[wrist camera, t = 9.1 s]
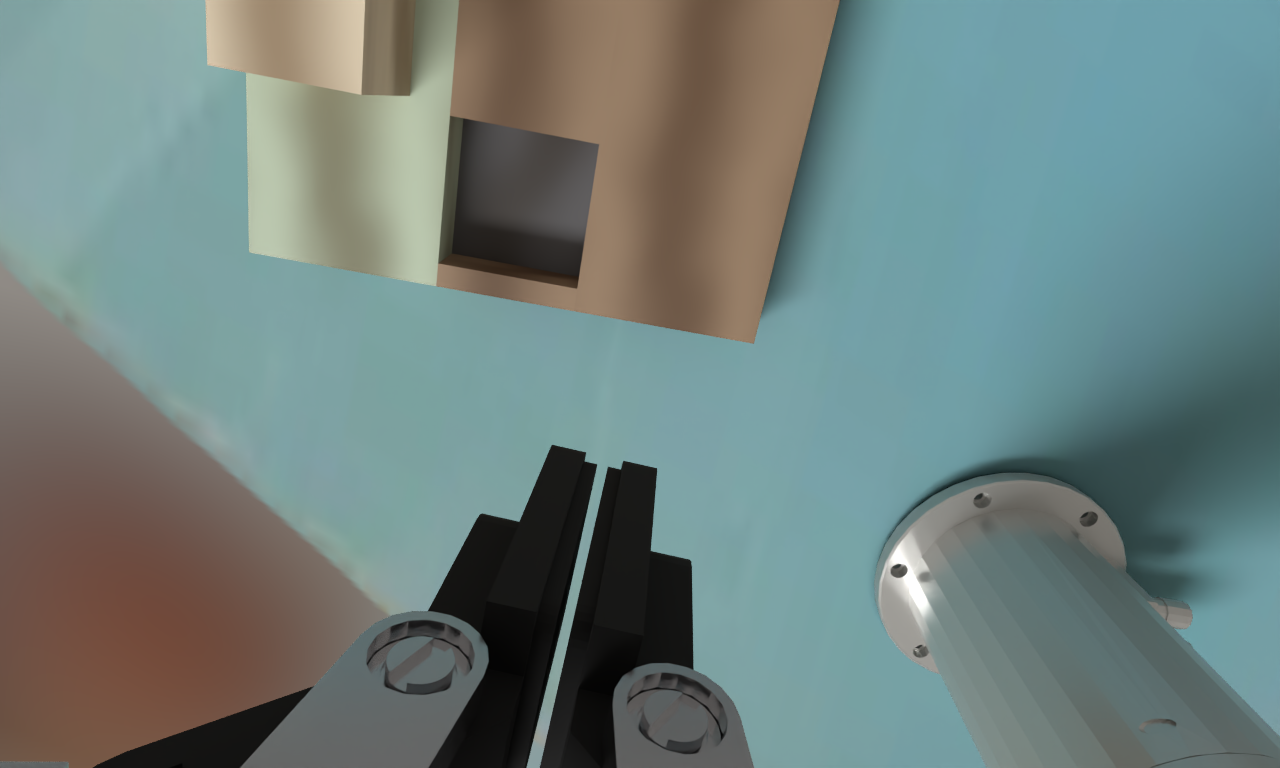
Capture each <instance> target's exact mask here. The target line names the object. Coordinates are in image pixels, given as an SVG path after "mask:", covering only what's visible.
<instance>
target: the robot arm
mask: <svg viewBox="0 0 1280 768" xmlns="http://www.w3.org/2000/svg"><path fill="white" fill-rule="evenodd" d="M585 456H586V452H582V451H577V450H573V449H568V448H564V447H559V446H555V445H552V446H551V448H550V450H549V453H548V455H547V458H546V460H545V462H544V465H543V467H542V470H541V472H540V474H539V477H538V479H537V481H536V484H535V486H534V489H533V491H532V493H531V496H530V498H529V501H528V503H527V505H526V508H525V510H524V512H523V515H522V517H521V520H520V522H517V521H513V520H508V519H504V518H500V517H495V516H491V515H486V514H480V515H479V517H478V518H477V520H476V522H475V524H474V525H473V527H472V529H471V531H470V533H469V535H468V537H467V539H466V541H465V542H464V544H463V546H462V548H461V550H460V552H459V554H458V556H457V557H456V559H455V561H454V563H453V565H452V567H451V569H450V571H449V572H448V574H447V576H446V578H445V580H444V582H443V584H442V586H441V588H440V589H439V591H438V593H437V595H436V597H435V599H434V601H433V603H432V604H431V606H430V608H429V610H428V611H411V612H406V613H401V614H396V615H392V616H390V617H388V618H385V619H383V620H381V621H379V622H377V623H375V624H373V625H372V626H371V627H370V628H369V629H368V630H366V631H365V632H364V633H362V634H361V635H360V636H359V638H357V640H356V641H355V642H354V643H353V644H352V645H351V646H350V647H349V648H348V649H347V651H346V652H345V653H344V654H343V655H342V656H341V657H340V658H339V660H338V661H337V662H336V663H335V664H334V665H333V666H332V667H331V668H330V669H329V670H328V672H327V673H326V674H325V675H324V676H323V677H322V678H321V679H320V680H319V681H318V683H317V684H316V685H315V686H313V687H310V688H307V689H305V690H302V691H299V692H296V693H293V694H290V695H287V696H285V697H282V698H279V699H276V700H273V701H270V702H267V703H264V704H262V705H259V706H256V707H253V708H250V709H247V710H245V711H242V712H239V713H236V714H233V715H230V716H227V717H225V718H221V719H219V720H216V721H213V722H210V723H207V724H204V725H201V726H199V727H196V728H193V729H190V730H187V731H184V732H181V733H179V734H176V735H173V736H170V737H167V738H164V739H161V740H158V741H156V742H153V743H150V744H147V745H144V746H141V747H138V748H135V749H133V750H130V751H127V752H124V753H122V754H120V755H118V756H116V757H114V758H111V759H109V760H107V761H105V762H103V763H100V764H98V765H96V766H95V767H93V768H526V767H527V763H528V759H529V755H530V751H531V747H532V743H533V739H534V735H535V731H536V727H537V723H538V719H539V715H540V711H541V707H542V703H543V699H544V695H545V690H546V686H547V682H548V678H549V674H550V670H551V666H552V662H553V658H554V654H555V650H556V646H557V642H558V638H559V634H560V630H561V626H562V622H563V617H564V613H565V609H566V604H567V600H568V595H569V590H570V586H571V581H572V577H573V572H574V568H575V563H576V559H577V554H578V550H579V545H580V541H581V536H582V532H583V527H584V522H585V518H586V513H587V509H588V504H589V500H590V495H591V491H592V486H593V482H594V477H595V473H596V468H597V464H593V463H589V462H584V461H585ZM656 477H657V468H653V467H648V466H644V465H640V464H635V463H631V462H626V461H623V464H622V468H621V470H620V469H616V468H611V467H608V469H607V474H606V478H605V483H604V487H603V491H602V496H601V500H600V505H599V509H598V514H597V518H596V522H595V527H594V531H593V536H592V540H591V544H590V549H589V553H588V558H587V562H586V567H585V571H584V575H583V580H582V584H581V589H580V593H579V597H578V602H577V606H576V611H575V615H574V619H573V624H572V628H571V633H570V637H569V642H568V646H567V650H566V655H565V659H564V664H563V668H562V673H561V677H560V681H559V686H558V690H557V695H556V699H555V703H554V708H553V712H552V717H551V721H550V726H549V730H548V734H547V739H546V743H545V748H544V752H543V756H542V761H541V765H540V768H754V766H753V762H752V759H751V755H750V751H749V748H748V744H747V740H746V737H745V733H744V729H743V726H742V722H741V718H740V716H739V714H738V711H737V709H736V707H735V705H734V703H733V701H732V700H731V698H730V697H729V696H728V695H727V694H726V693H725V691H724V690H723V689H722V688H721V687H720V686H719V685H717V684H716V683H715V682H713V681H712V680H711V679H709V678H708V677H707V676H705V675H703V674H701V673H699V672H696V671H694V670H693V615H692V565H691V561H690V560H688V559H684V558H679V557H675V556H670V555H666V554H661V553H657V552H652V551H651V539H652V527H653V514H654V502H655V489H656ZM1126 565H1127V562H1126V555H1125V548H1124V543H1123V541H1122V539H1121V536H1120V534H1119V531H1118V529H1117V527H1116V525H1115V524H1114V523H1113V521H1112V520H1111V519H1110V517H1109V516H1108V515H1107V514H1106V512H1105V511H1104V510H1103V509H1102V508H1101V507H1100V506H1099V505H1097V504H1096V503H1095V502H1094V501H1093V500H1092V499H1091V498H1090V497H1089V496H1087V495H1086V494H1084V493H1083V492H1081V491H1080V490H1078V489H1076V488H1075V487H1073V486H1072V485H1070V484H1067V483H1065V482H1062V481H1060V480H1057V479H1054V478H1052V477H1048V476H1042V475H1037V474H1031V473H998V474H992V475H986V476H980V477H976V478H973V479H970V480H967V481H964V482H961V483H958V484H955V485H953V486H951V487H949V488H947V489H945V490H943V491H941V492H939V493H937V494H935V495H933V496H932V497H930V498H929V499H928V500H926V501H925V502H923V503H922V504H921V505H919V506H918V507H917V508H915V509H914V510H913V511H912V512H911V513H910V514H909V515H908V516H907V517H906V518H905V519H904V520H903V521H902V522H901V523H900V524H899V525H898V526H897V528H896V529H895V531H894V532H893V534H892V535H891V537H890V538H889V540H888V541H887V543H886V544H885V546H884V549H883V551H882V554H881V556H880V558H879V561H878V564H877V569H876V574H875V580H874V589H875V602H876V605H877V608H878V612H879V615H880V618H881V620H882V622H883V624H884V626H885V629H886V631H887V633H888V635H889V636H890V638H891V639H892V640H893V642H894V643H895V645H896V646H897V647H898V649H899V650H900V651H901V652H903V653H904V654H905V655H906V656H907V657H908V658H909V659H910V660H912V661H913V662H915V663H917V664H918V665H920V666H922V667H924V668H926V669H927V670H929V671H931V672H934V673H937V674H940V675H941V677H942V679H943V681H944V683H945V685H946V687H947V689H948V691H949V693H950V695H951V697H952V699H953V701H954V703H955V705H956V707H957V709H958V711H959V713H960V715H961V717H962V719H963V721H964V723H965V725H966V727H967V729H968V731H969V733H970V735H971V737H972V739H973V741H974V743H975V745H976V747H977V749H978V751H979V753H980V755H981V757H982V760H983V762H984V764H985V766H986V768H1280V736H1279V735H1278V734H1277V733H1276V732H1275V731H1274V730H1273V729H1272V728H1271V727H1270V726H1269V725H1268V724H1267V723H1266V722H1265V721H1264V720H1263V719H1262V718H1261V717H1260V716H1259V715H1258V714H1257V713H1256V712H1255V711H1254V710H1253V709H1252V708H1251V707H1250V706H1249V705H1248V704H1247V703H1246V702H1245V701H1244V700H1243V699H1242V698H1241V697H1240V696H1239V695H1238V693H1237V692H1236V691H1235V690H1234V689H1233V688H1232V687H1231V686H1230V685H1229V684H1228V683H1227V682H1226V681H1225V680H1224V679H1223V678H1222V677H1221V676H1220V675H1219V674H1218V673H1217V672H1216V671H1215V670H1214V669H1213V668H1212V667H1211V666H1210V665H1209V664H1208V663H1207V662H1206V661H1205V660H1204V659H1203V658H1202V657H1201V656H1200V655H1199V654H1198V653H1197V652H1196V651H1195V650H1194V649H1193V647H1192V646H1191V644H1190V643H1189V642H1187V641H1186V640H1185V639H1184V638H1183V637H1182V636H1181V635H1180V634H1179V633H1178V632H1177V631H1176V630H1175V629H1174V628H1176V629H1187V628H1188V627H1189V626H1190V625H1191V622H1192V618H1193V617H1192V610H1191V609H1190V607H1189V606H1188V604H1187V603H1185V602H1183V601H1179V600H1173V599H1167V598H1161V597H1156V598H1153V597H1151V596H1150V595H1149V594H1148V593H1147V592H1146V591H1145V590H1144V589H1143V588H1142V587H1141V586H1140V585H1139V584H1138V583H1137V582H1136V581H1135V580H1134V579H1133V578H1132V577H1131V576H1130V575H1129V574H1128V573H1127V572H1126ZM0 768H69V765H68V762H0Z"/></svg>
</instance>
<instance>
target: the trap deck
mask: <svg viewBox="0 0 1280 768" xmlns="http://www.w3.org/2000/svg"><path fill="white" fill-rule="evenodd" d="M839 2H840V0H416V6H415V22H414V38H413V54H412V70H411V86H410V96H387V95H360V94H354V93H349V92H344V91H339V90H334V89H329V88H324V87H318V86H313V85H308V84H303V83H298V82H293V81H288V80H282V79H277V78H272V77H267V76H262V75H257V74H252V73H246V87H247V149H248V210H249V252H250V253H256V254H261V255H267V256H272V257H278V258H283V259H289V260H295V261H300V262H306V263H311V264H317V265H322V266H328V267H333V268H339V269H344V270H350V271H355V272H361V273H366V274H372V275H377V276H383V277H389V278H394V279H400V280H405V281H411V282H416V283H422V284H427V285H433V286H438V287H444V288H449V289H455V290H460V291H466V292H471V293H477V294H483V295H488V296H494V297H499V298H505V299H510V300H516V301H521V302H527V303H532V304H538V305H543V306H549V307H554V308H560V309H565V310H571V311H576V312H582V313H588V314H593V315H599V316H604V317H610V318H615V319H621V320H626V321H632V322H637V323H643V324H648V325H654V326H659V327H665V328H670V329H676V330H682V331H687V332H693V333H698V334H704V335H709V336H715V337H720V338H726V339H731V340H737V341H742V342H748V343H753V344H754V341H755V337H756V333H757V329H758V325H759V321H760V317H761V313H762V309H763V305H764V301H765V297H766V293H767V289H768V285H769V281H770V277H771V273H772V269H773V265H774V261H775V257H776V253H777V249H778V245H779V241H780V237H781V233H782V229H783V225H784V221H785V217H786V213H787V209H788V205H789V201H790V197H791V193H792V189H793V185H794V181H795V177H796V173H797V169H798V165H799V161H800V157H801V153H802V149H803V145H804V141H805V137H806V133H807V129H808V125H809V121H810V117H811V113H812V109H813V105H814V101H815V97H816V93H817V89H818V85H819V81H820V77H821V73H822V69H823V65H824V61H825V57H826V54H827V50H828V46H829V42H830V38H831V34H832V30H833V26H834V22H835V18H836V14H837V10H838V6H839Z"/></svg>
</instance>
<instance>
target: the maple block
mask: <svg viewBox="0 0 1280 768" xmlns="http://www.w3.org/2000/svg"><path fill="white" fill-rule="evenodd" d="M415 6H416V0H206V29H207V60H208V65H210V66H216V67H221V68H226V69H231V70H236V71H241V72H246V73H252V74H257V75H262V76H267V77H272V78H277V79H282V80H288V81H293V82H298V83H303V84H308V85H313V86H318V87H324V88H329V89H334V90H339V91H344V92H349V93H354V94H360V95H387V96H410V86H411V70H412V54H413V38H414V22H415Z"/></svg>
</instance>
